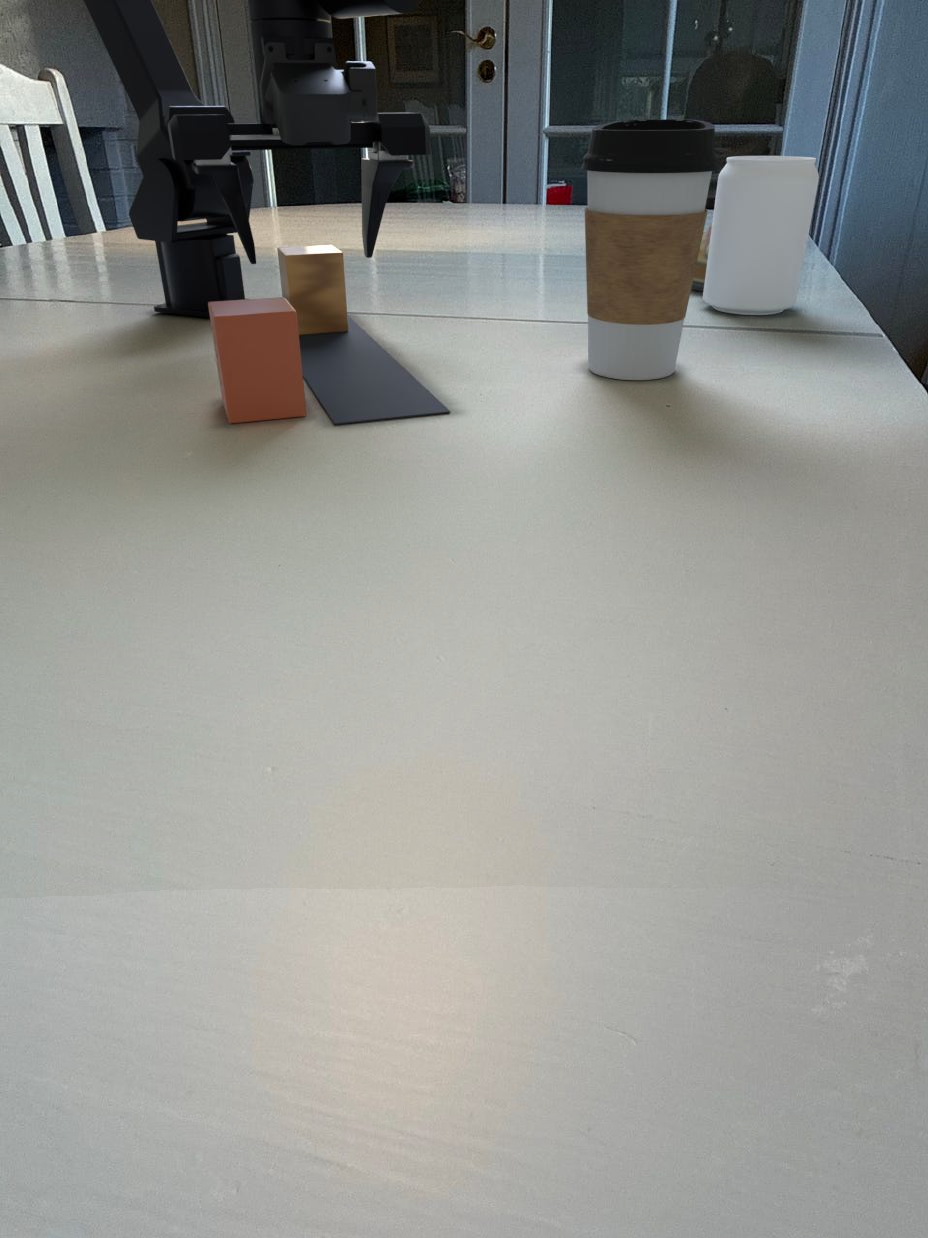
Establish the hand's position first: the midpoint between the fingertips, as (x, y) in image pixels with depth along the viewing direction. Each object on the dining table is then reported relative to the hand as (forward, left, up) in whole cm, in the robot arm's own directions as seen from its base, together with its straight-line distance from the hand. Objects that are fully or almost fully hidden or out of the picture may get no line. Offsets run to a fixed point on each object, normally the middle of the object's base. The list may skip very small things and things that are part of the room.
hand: (311, 260), depth 69 cm
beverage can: (+31, +23, -6) cm, 39 cm away
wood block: (0, 0, -5) cm, 5 cm away
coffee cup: (+27, -2, -6) cm, 28 cm away
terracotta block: (+9, -20, -5) cm, 23 cm away
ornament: (+27, +32, -6) cm, 42 cm away
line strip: (+7, -8, -5) cm, 12 cm away
